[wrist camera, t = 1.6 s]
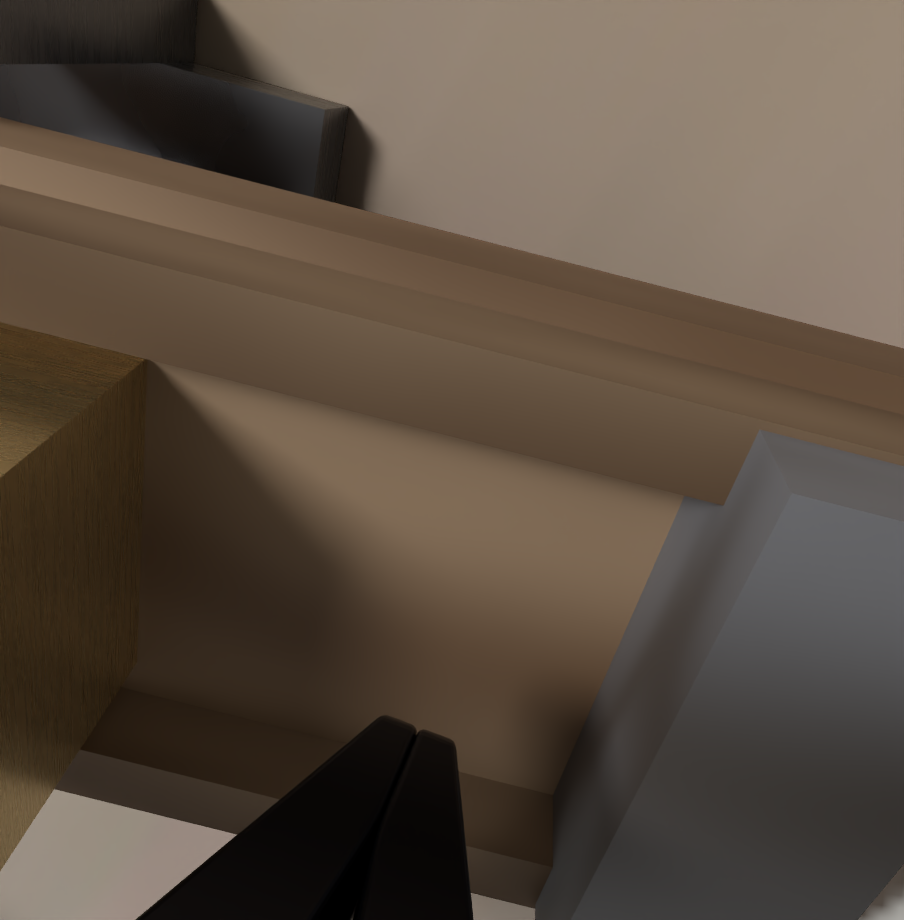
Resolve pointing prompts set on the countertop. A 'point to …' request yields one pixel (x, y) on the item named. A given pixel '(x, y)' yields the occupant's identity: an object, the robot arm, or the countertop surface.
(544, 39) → the countertop surface
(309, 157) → the trestle
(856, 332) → the countertop surface
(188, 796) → the beam
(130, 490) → the block
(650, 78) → the countertop surface
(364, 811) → the robot arm
